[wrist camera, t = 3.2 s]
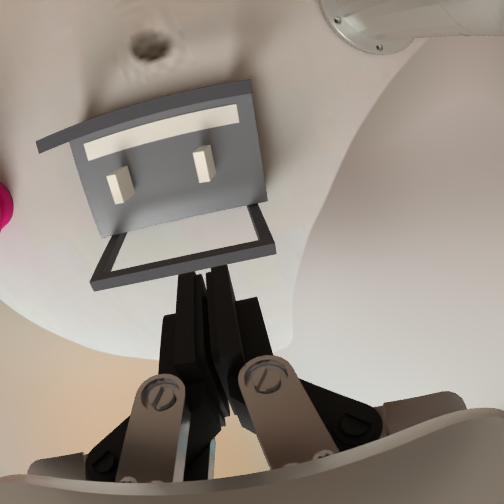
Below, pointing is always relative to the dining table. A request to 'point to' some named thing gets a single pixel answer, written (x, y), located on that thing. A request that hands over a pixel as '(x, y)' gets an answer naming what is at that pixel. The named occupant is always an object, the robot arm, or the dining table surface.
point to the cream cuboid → (204, 163)
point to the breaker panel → (173, 164)
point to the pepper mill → (5, 206)
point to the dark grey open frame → (133, 274)
